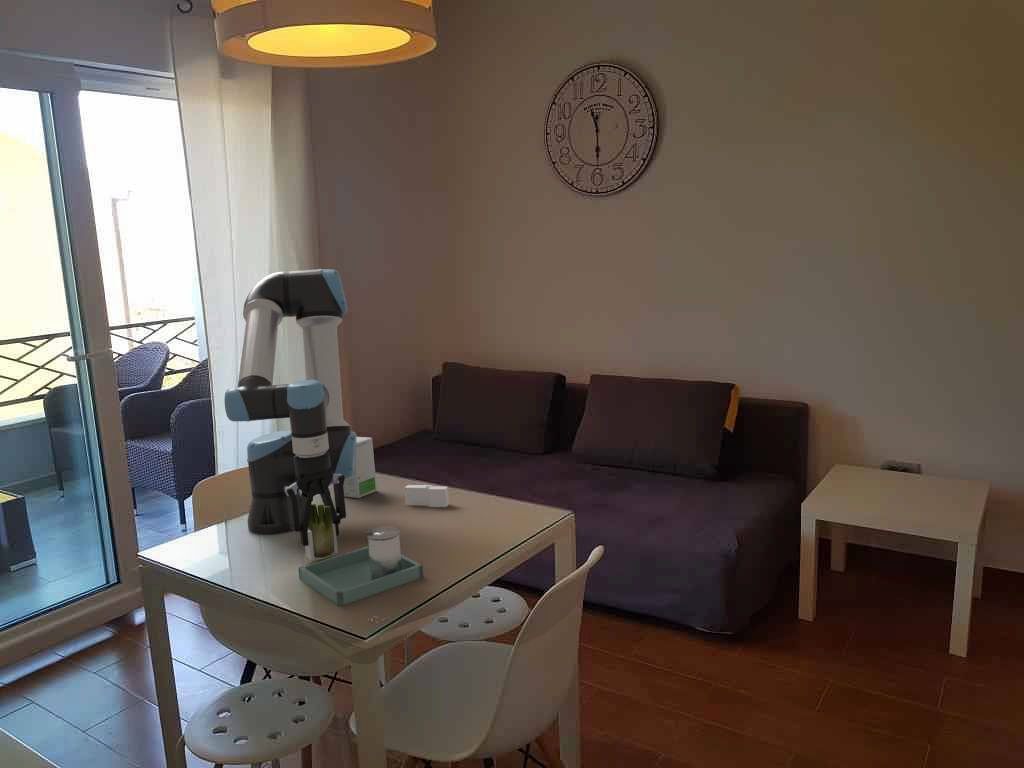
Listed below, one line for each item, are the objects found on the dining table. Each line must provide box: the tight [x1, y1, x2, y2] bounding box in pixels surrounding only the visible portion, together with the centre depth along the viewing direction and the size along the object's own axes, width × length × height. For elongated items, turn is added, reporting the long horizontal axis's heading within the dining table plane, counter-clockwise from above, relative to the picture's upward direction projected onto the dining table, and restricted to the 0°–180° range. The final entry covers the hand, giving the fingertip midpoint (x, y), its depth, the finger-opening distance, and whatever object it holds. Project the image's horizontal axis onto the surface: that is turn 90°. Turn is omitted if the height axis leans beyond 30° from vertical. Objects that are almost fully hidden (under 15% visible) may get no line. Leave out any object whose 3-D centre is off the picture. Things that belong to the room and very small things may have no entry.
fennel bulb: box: [308, 503, 334, 559], centre depth 179 cm, size 6×5×12 cm
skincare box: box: [343, 436, 378, 499], centre depth 229 cm, size 8×7×16 cm
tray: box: [298, 545, 424, 607], centre depth 169 cm, size 18×19×4 cm
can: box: [366, 526, 402, 581], centre depth 167 cm, size 7×7×10 cm
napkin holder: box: [404, 484, 450, 508], centre depth 216 cm, size 15×11×6 cm
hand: (321, 554), depth 180 cm, fingers closed on fennel bulb, 5 cm apart
